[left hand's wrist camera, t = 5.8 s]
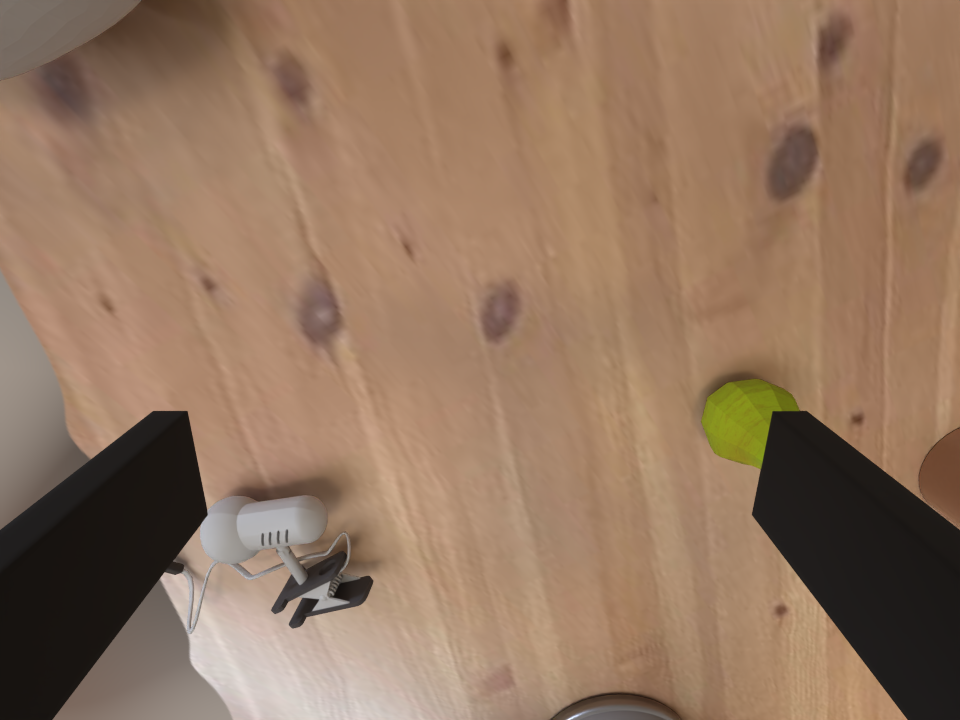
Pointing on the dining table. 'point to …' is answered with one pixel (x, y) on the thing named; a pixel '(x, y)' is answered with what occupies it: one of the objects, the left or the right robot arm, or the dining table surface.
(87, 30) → the table lamp
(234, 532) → the clip-on lamp
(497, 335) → the dining table surface
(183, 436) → the left robot arm
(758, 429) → the fruit
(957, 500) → the jar
